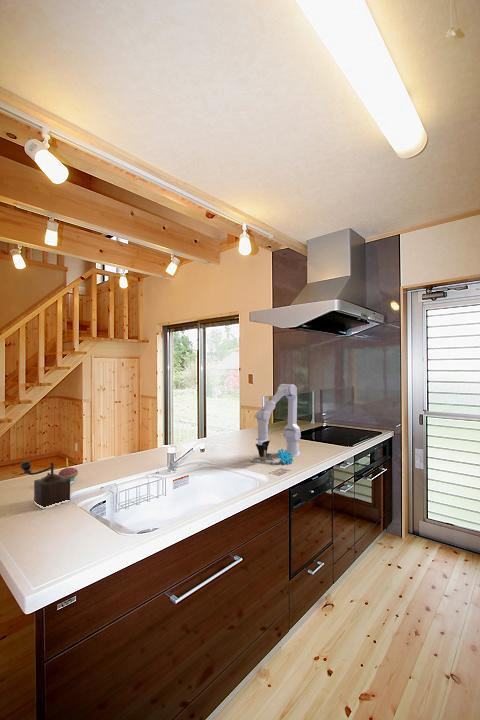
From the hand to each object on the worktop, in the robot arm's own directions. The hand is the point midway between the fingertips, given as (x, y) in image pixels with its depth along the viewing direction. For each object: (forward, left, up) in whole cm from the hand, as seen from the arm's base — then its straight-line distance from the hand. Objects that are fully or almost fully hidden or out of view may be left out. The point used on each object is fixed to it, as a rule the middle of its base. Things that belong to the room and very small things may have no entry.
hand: (263, 454), depth 197 cm
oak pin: (0, 0, -3) cm, 3 cm away
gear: (-1, +13, -4) cm, 14 cm away
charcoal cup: (-9, 0, -4) cm, 10 cm away
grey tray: (0, 0, -4) cm, 4 cm away
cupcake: (+61, -80, -4) cm, 101 cm away
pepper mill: (+84, -70, -4) cm, 109 cm away
